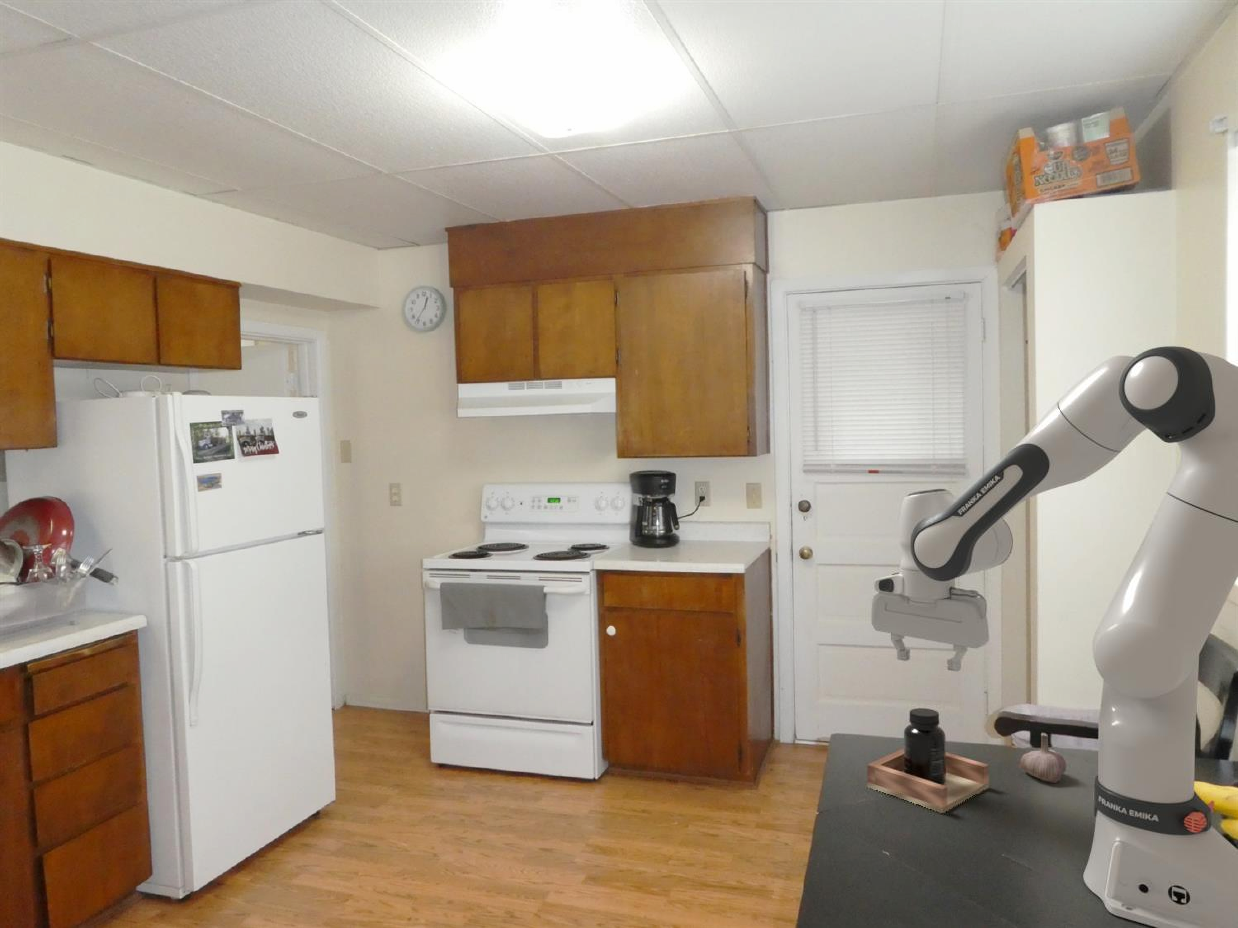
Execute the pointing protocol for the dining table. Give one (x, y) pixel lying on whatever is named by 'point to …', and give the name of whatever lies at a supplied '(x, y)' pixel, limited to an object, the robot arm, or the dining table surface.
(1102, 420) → the robot arm
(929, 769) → the supplement bottle
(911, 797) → the open-sided tray
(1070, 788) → the dining table surface
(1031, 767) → the garlic bulb
